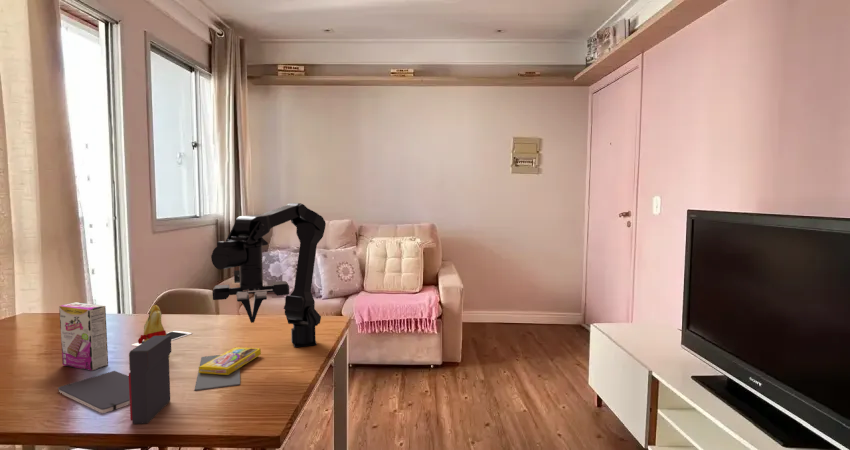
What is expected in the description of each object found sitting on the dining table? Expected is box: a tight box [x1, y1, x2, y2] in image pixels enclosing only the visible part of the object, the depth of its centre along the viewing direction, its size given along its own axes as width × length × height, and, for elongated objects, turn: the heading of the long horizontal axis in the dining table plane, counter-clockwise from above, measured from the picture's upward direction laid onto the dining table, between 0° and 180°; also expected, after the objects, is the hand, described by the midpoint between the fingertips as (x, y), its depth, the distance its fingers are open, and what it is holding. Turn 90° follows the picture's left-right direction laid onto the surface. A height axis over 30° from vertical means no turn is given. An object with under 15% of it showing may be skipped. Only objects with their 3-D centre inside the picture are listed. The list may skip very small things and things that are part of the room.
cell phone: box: [131, 330, 193, 347], centre depth 155 cm, size 8×16×1 cm, turn 159°
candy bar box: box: [58, 301, 109, 372], centre depth 131 cm, size 11×5×16 cm, turn 71°
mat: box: [193, 354, 241, 392], centre depth 129 cm, size 10×24×1 cm, turn 21°
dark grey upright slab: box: [128, 335, 172, 425], centre depth 104 cm, size 11×4×15 cm, turn 5°
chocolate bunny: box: [137, 304, 170, 358], centre depth 137 cm, size 7×11×15 cm, turn 45°
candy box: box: [198, 346, 262, 375], centre depth 132 cm, size 16×2×8 cm
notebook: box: [57, 370, 130, 414], centre depth 115 cm, size 13×2×21 cm
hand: (252, 322), depth 131 cm, fingers closed
